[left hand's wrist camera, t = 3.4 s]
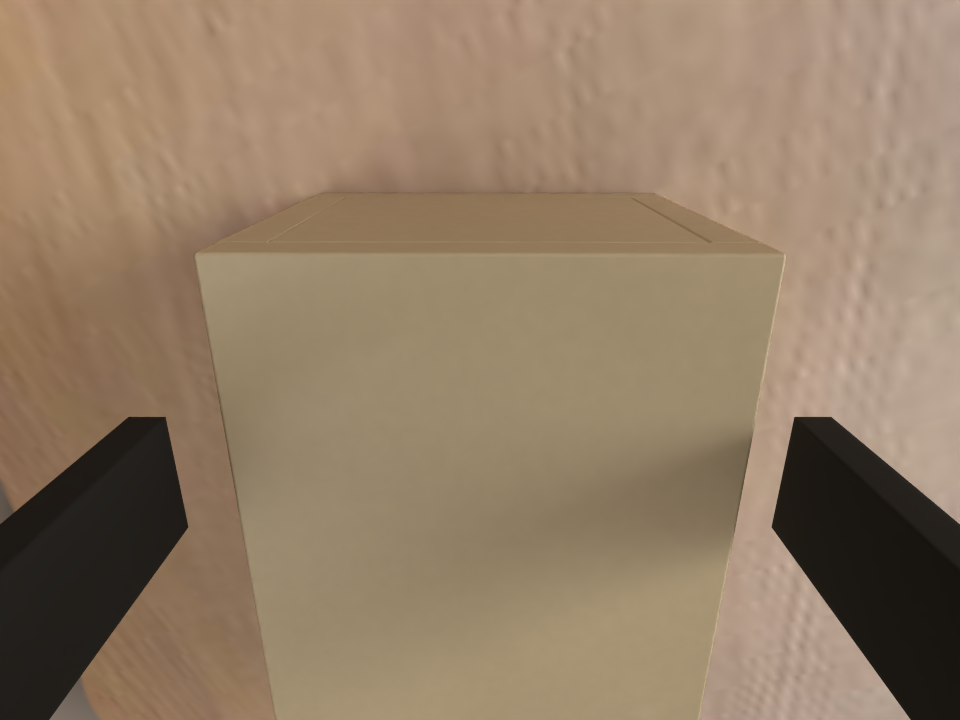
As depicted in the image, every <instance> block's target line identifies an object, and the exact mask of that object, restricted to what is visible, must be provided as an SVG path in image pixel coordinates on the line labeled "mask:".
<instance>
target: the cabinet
mask: <svg viewBox="0 0 960 720" xmlns="http://www.w3.org/2000/svg"><path fill="white" fill-rule="evenodd" d="M194 261H195V267H196V272H197V278H198V284H199V289H200V295H201V301H202V306H203V312H204V318H205V323H206V329H207V335H208V340H209V346H210V352H211V357H212V363H213V369H214V374H215V380H216V386H217V391H218V397H219V403H220V408H221V414H222V420H223V425H224V431H225V437H226V442H227V448H228V454H229V459H230V465H231V471H232V476H233V482H234V488H235V493H236V499H237V505H238V510H239V516H240V522H241V527H242V533H243V539H244V544H245V550H246V556H247V561H248V567H249V572H250V578H251V584H252V589H253V595H254V601H255V606H256V612H257V618H258V623H259V629H260V635H261V640H262V646H263V652H264V657H265V663H266V669H267V674H268V680H269V686H270V691H271V697H272V703H273V708H274V714H275V720H699V717H700V711H701V706H702V701H703V695H704V690H705V685H706V680H707V674H708V669H709V664H710V658H711V653H712V648H713V642H714V637H715V632H716V627H717V621H718V616H719V611H720V605H721V600H722V595H723V590H724V584H725V579H726V574H727V568H728V563H729V558H730V553H731V547H732V542H733V537H734V531H735V526H736V521H737V515H738V510H739V505H740V500H741V494H742V489H743V484H744V478H745V473H746V468H747V463H748V457H749V452H750V447H751V441H752V436H753V431H754V426H755V420H756V415H757V410H758V404H759V399H760V394H761V388H762V383H763V378H764V373H765V367H766V362H767V357H768V351H769V346H770V341H771V336H772V330H773V325H774V320H775V314H776V309H777V304H778V299H779V293H780V288H781V283H782V277H783V272H784V267H785V261H786V254H785V253H782V252H780V251H778V250H776V249H774V248H772V247H769V246H767V245H765V244H763V243H760V242H758V241H756V240H754V239H752V238H749V237H747V236H745V235H743V234H741V233H739V232H736V231H734V230H732V229H730V228H728V227H726V226H723V225H721V224H719V223H717V222H715V221H713V220H710V219H708V218H706V217H704V216H702V215H700V214H697V213H695V212H693V211H691V210H689V209H687V208H684V207H682V206H680V205H678V204H676V203H674V202H671V201H669V200H667V199H665V198H663V197H661V196H658V195H656V194H654V193H320V194H318V195H316V196H314V197H311V198H308V199H306V200H304V201H302V202H300V203H298V204H296V205H294V206H291V207H289V208H287V209H285V210H283V211H281V212H279V213H277V214H275V215H272V216H270V217H268V218H266V219H264V220H262V221H260V222H258V223H255V224H253V225H251V226H249V227H247V228H245V229H243V230H241V231H239V232H236V233H234V234H232V235H230V236H228V237H226V238H224V239H222V240H219V241H217V243H215V244H212V245H210V246H208V247H206V248H204V249H202V250H200V251H198V252H196V253H194Z"/></svg>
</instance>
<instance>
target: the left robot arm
mask: <svg viewBox="0 0 960 720" xmlns="http://www.w3.org/2000/svg"><path fill="white" fill-rule="evenodd" d="M187 528H188V523H187V518H186V514H185V509H184V504H183V499H182V494H181V490H180V485H179V480H178V475H177V470H176V465H175V461H174V456H173V451H172V446H171V441H170V437H169V432H168V427H167V422H166V417H128V418H127V419H126V420H125V421H123V422H122V423H121V424H120V425H119V426H117V427H116V428H115V429H114V430H113V431H111V432H110V433H109V434H108V435H107V436H105V437H104V438H103V439H102V440H101V441H99V442H98V443H97V444H96V445H95V446H93V447H92V448H91V449H90V450H89V451H88V452H86V453H85V454H84V455H83V456H82V457H80V458H79V459H78V460H77V461H76V462H74V463H73V464H72V465H71V466H70V467H68V468H67V469H66V470H65V471H64V472H62V473H61V474H60V475H59V476H58V477H56V478H55V479H54V480H53V481H52V482H50V483H49V484H48V485H47V486H46V487H44V488H43V489H42V490H41V491H40V492H38V493H37V494H36V495H35V496H34V497H32V498H31V499H30V500H29V501H28V502H26V503H25V504H24V505H23V506H22V507H20V508H19V509H18V510H17V511H16V512H14V513H13V514H12V515H11V516H10V517H9V518H7V519H6V520H5V521H4V522H3V523H1V524H0V720H49V719H50V718H51V716H52V715H53V714H54V712H55V711H56V710H57V708H58V707H59V705H60V704H61V703H62V701H63V700H64V698H65V697H66V696H67V694H68V693H69V692H70V690H71V689H72V687H73V686H74V685H75V683H76V682H77V680H78V679H79V678H80V676H81V675H82V674H83V672H84V671H85V669H86V668H87V667H88V665H89V664H90V662H91V661H92V660H93V658H94V657H95V656H96V654H97V653H98V651H99V650H100V649H101V647H102V646H103V645H104V643H105V642H106V640H107V639H108V638H109V636H110V635H111V633H112V632H113V631H114V629H115V628H116V627H117V625H118V624H119V622H120V621H121V620H122V618H123V617H124V615H125V614H126V613H127V611H128V610H129V609H130V607H131V606H132V604H133V603H134V602H135V600H136V599H137V597H138V596H139V595H140V593H141V592H142V591H143V589H144V588H145V586H146V585H147V584H148V582H149V581H150V579H151V578H152V577H153V575H154V574H155V573H156V571H157V570H158V568H159V567H160V566H161V564H162V563H163V561H164V560H165V559H166V557H167V556H168V555H169V553H170V552H171V550H172V549H173V548H174V546H175V545H176V544H177V542H178V541H179V539H180V538H181V537H182V535H183V534H184V532H185V531H186V530H187ZM772 528H773V530H774V531H775V532H776V534H777V535H778V537H779V538H780V539H781V541H782V542H783V544H784V545H785V546H786V548H787V549H788V550H789V552H790V553H791V555H792V556H793V557H794V559H795V560H796V562H797V563H798V564H799V566H800V567H801V568H802V570H803V571H804V573H805V574H806V575H807V577H808V578H809V579H810V581H811V582H812V584H813V585H814V586H815V588H816V589H817V591H818V592H819V593H820V595H821V596H822V597H823V599H824V600H825V602H826V603H827V604H828V606H829V607H830V609H831V610H832V611H833V613H834V614H835V615H836V617H837V618H838V620H839V621H840V622H841V624H842V625H843V627H844V628H845V629H846V631H847V632H848V633H849V635H850V636H851V638H852V639H853V640H854V642H855V643H856V645H857V646H858V647H859V649H860V650H861V651H862V653H863V654H864V656H865V657H866V658H867V660H868V661H869V663H870V664H871V665H872V667H873V668H874V669H875V671H876V672H877V674H878V675H879V676H880V678H881V679H882V680H883V682H884V683H885V685H886V686H887V687H888V689H889V690H890V692H891V693H892V694H893V696H894V697H895V698H896V700H897V701H898V703H899V704H900V705H901V707H902V708H903V710H904V711H905V712H906V714H907V715H908V716H909V718H910V719H911V720H960V524H959V523H957V522H956V521H955V520H954V519H953V518H951V517H950V516H949V515H948V514H947V513H945V512H944V511H943V510H942V509H941V508H940V507H938V506H937V505H936V504H935V503H934V502H932V501H931V500H930V499H929V498H928V497H926V496H925V495H924V494H923V493H922V492H920V491H919V490H918V489H917V488H916V487H914V486H913V485H912V484H911V483H910V482H908V481H907V480H906V479H905V478H904V477H902V476H901V475H900V474H899V473H898V472H896V471H895V470H894V469H893V468H892V467H890V466H889V465H888V464H887V463H886V462H884V461H883V460H882V459H881V458H880V457H878V456H877V455H876V454H875V453H874V452H872V451H871V450H870V449H869V448H868V447H867V446H865V445H864V444H863V443H862V442H861V441H859V440H858V439H857V438H856V437H855V436H853V435H852V434H851V433H850V432H849V431H847V430H846V429H845V428H844V427H843V426H841V425H840V424H839V423H838V422H837V421H835V420H834V419H833V418H832V417H794V422H793V427H792V432H791V437H790V441H789V446H788V451H787V456H786V461H785V465H784V470H783V475H782V480H781V485H780V490H779V494H778V499H777V504H776V509H775V514H774V518H773V523H772Z"/></svg>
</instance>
